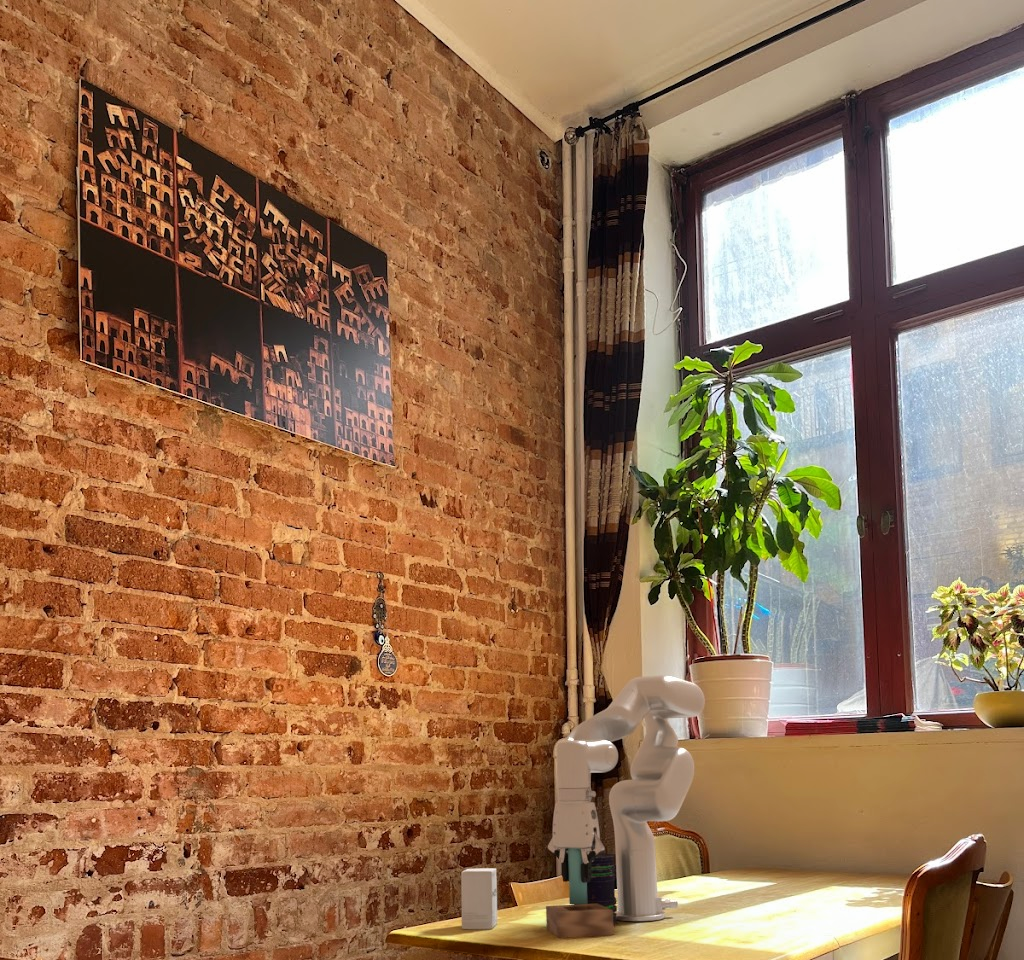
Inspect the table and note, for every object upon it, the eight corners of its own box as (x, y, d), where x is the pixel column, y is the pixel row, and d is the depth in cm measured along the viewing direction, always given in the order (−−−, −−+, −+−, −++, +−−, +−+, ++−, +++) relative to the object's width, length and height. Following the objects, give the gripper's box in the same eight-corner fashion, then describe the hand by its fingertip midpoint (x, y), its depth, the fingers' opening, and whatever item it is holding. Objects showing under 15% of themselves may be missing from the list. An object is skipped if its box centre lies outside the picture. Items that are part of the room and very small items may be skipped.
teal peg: (584, 901, 253) (582, 836, 256) (589, 903, 249) (587, 837, 253) (567, 902, 252) (565, 837, 256) (572, 904, 248) (570, 838, 252)
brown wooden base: (598, 926, 256) (597, 903, 257) (613, 934, 245) (612, 910, 246) (546, 929, 253) (546, 906, 255) (560, 938, 242) (559, 913, 243)
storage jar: (574, 926, 257) (572, 857, 260) (574, 920, 266) (572, 853, 270) (618, 926, 256) (615, 857, 260) (616, 919, 266) (613, 853, 269)
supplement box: (492, 929, 256) (491, 871, 259) (460, 929, 257) (460, 871, 260) (498, 924, 263) (497, 867, 266) (467, 924, 264) (466, 867, 267)
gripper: (614, 795, 255) (617, 881, 250) (550, 795, 263) (552, 878, 259) (599, 797, 249) (602, 884, 244) (534, 797, 257) (535, 881, 253)
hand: (576, 880), depth 252 cm, fingers closed on teal peg, 4 cm apart
